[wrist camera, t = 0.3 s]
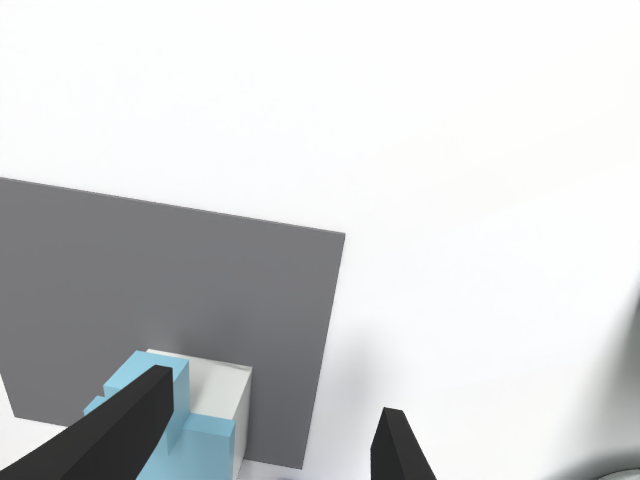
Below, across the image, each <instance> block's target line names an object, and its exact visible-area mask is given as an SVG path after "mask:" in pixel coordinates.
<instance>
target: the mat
mask: <svg viewBox="0 0 640 480" xmlns="http://www.w3.org/2000/svg"><path fill="white" fill-rule="evenodd" d="M344 240H345V233H340V232H334V231H328V230H322V229H315V228H309V227H303V226H297V225H291V224H285V223H279V222H272V221H266V220H260V219H254V218H248V217H242V216H236V215H229V214H223V213H217V212H211V211H205V210H199V209H192V208H186V207H180V206H174V205H168V204H162V203H156V202H149V201H143V200H137V199H131V198H125V197H119V196H113V195H106V194H100V193H94V192H88V191H82V190H76V189H70V188H63V187H57V186H51V185H45V184H39V183H33V182H26V181H20V180H14V179H8V178H2V177H0V373H1V377H2V380H3V383H4V386H5V389H6V392H7V395H8V398H9V401H10V404H11V407H12V410H13V413H14V416H15V417H17V418H23V419H28V420H34V421H39V422H44V423H50V424H55V425H61V426H66V427H69V426H71V425H72V424H74V423H75V422H77V421H78V420H80V419H81V418H83V417H84V411H83V410H84V409H85V408H86V407H87V406H88V405H89V404H90V403H91V402H92V401H93V400H94V399H95V397H96V396H101V397H105V394H104V388H103V385H104V384H105V383H106V382H107V381H108V380H109V379H110V378H111V377H112V376H113V375H114V373H115V372H116V371H117V370H118V369H119V368H120V367H121V366H122V365H123V364H124V363H125V362H126V361H127V360H128V359H129V358H130V357H131V356H132V354H133V353H134V352H135V351H136V350H137V351H142V352H146V351H147V350H148V349H152V350H157V351H163V352H169V353H174V354H180V355H186V356H192V357H197V358H203V359H209V360H214V361H220V362H226V363H232V364H237V365H243V366H249V367H253V368H252V381H251V394H250V407H249V420H248V432H247V445H246V450H245V454H244V457H243V459H247V460H252V461H258V462H263V463H269V464H274V465H280V466H285V467H290V468H296V469H301V470H302V465H303V460H304V454H305V449H306V444H307V438H308V433H309V428H310V422H311V417H312V411H313V406H314V401H315V395H316V390H317V385H318V379H319V374H320V369H321V363H322V358H323V352H324V347H325V342H326V336H327V331H328V326H329V320H330V315H331V310H332V304H333V299H334V293H335V288H336V283H337V277H338V272H339V267H340V261H341V256H342V251H343V245H344Z"/></svg>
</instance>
